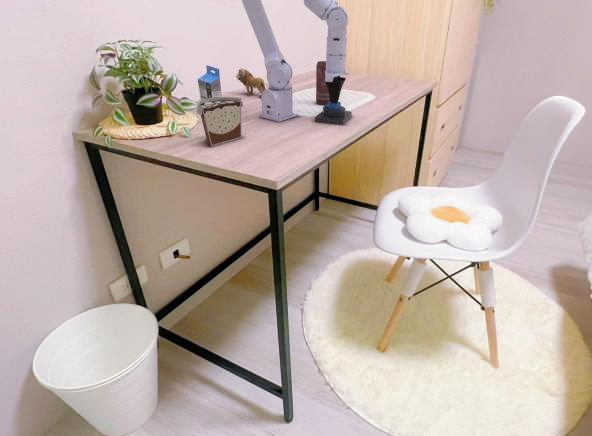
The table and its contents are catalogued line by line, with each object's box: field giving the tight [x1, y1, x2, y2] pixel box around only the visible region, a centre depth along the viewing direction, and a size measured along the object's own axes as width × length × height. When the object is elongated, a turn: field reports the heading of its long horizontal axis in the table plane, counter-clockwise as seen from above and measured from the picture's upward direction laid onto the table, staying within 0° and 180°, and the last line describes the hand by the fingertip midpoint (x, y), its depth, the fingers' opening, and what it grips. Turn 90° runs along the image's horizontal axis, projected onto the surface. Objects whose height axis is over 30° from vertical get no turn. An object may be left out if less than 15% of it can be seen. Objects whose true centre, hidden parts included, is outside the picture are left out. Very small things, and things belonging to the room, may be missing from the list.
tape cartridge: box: [197, 64, 223, 101], centre depth 121 cm, size 9×4×12 cm, turn 44°
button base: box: [314, 105, 353, 126], centre depth 116 cm, size 11×9×4 cm
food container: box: [196, 96, 244, 147], centre depth 94 cm, size 12×6×10 cm, turn 141°
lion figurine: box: [235, 68, 267, 96], centre depth 138 cm, size 15×5×9 cm, turn 62°
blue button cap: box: [328, 101, 342, 110], centre depth 114 cm, size 4×4×2 cm
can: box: [315, 60, 330, 106], centre depth 130 cm, size 6×6×14 cm
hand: (334, 102), depth 114 cm, fingers closed
